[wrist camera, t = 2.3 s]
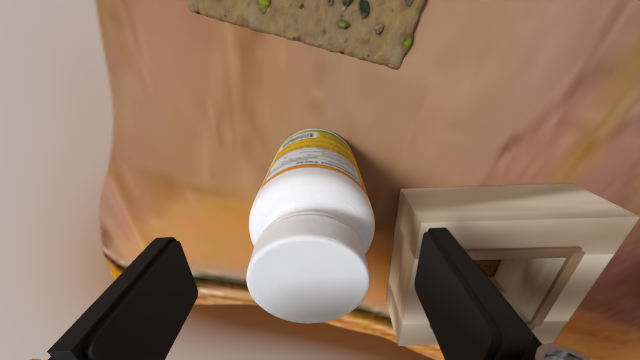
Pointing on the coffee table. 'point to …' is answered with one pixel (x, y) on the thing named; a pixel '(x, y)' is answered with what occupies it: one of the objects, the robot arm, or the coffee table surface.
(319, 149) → the supplement bottle
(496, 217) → the socket block
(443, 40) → the coffee table surface
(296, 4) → the cookie
